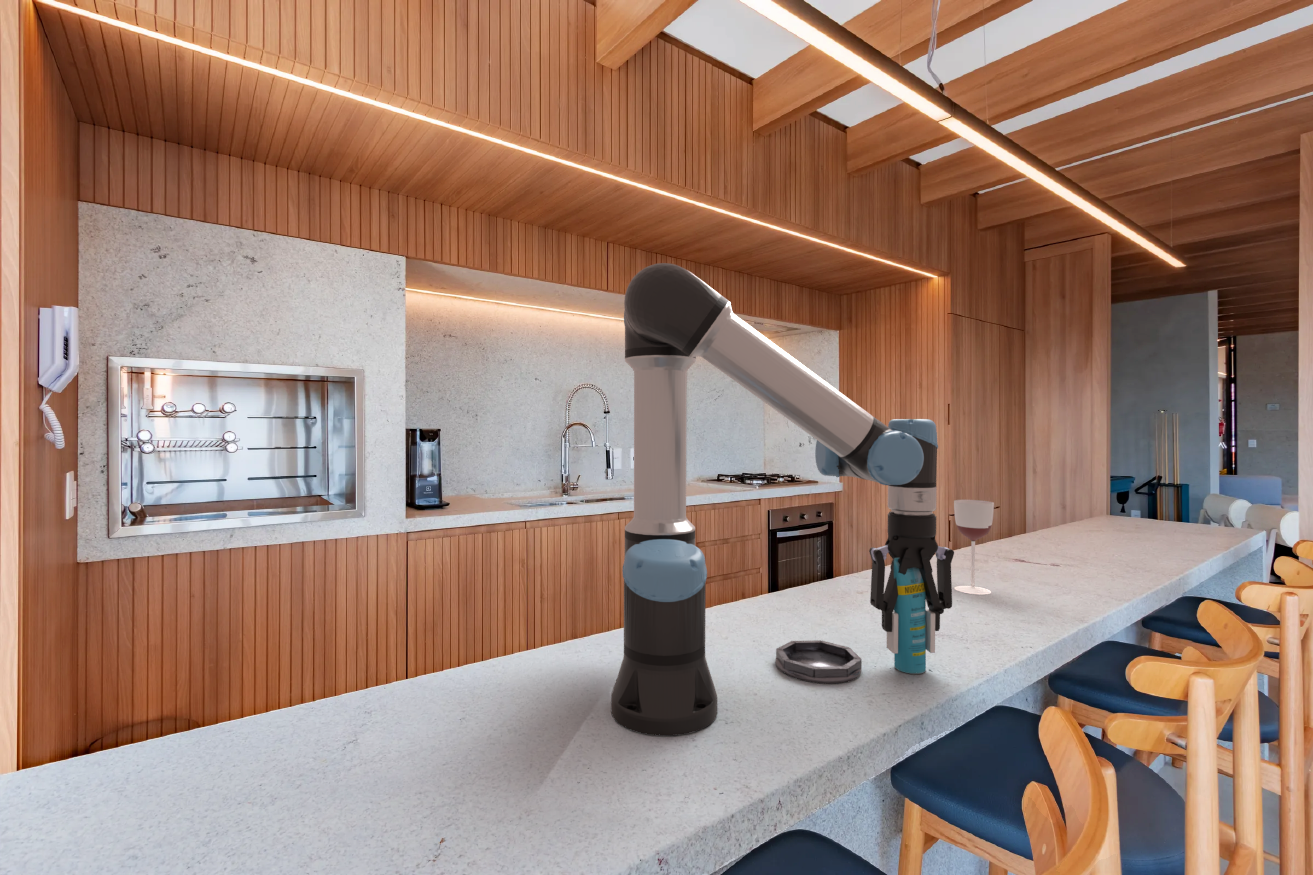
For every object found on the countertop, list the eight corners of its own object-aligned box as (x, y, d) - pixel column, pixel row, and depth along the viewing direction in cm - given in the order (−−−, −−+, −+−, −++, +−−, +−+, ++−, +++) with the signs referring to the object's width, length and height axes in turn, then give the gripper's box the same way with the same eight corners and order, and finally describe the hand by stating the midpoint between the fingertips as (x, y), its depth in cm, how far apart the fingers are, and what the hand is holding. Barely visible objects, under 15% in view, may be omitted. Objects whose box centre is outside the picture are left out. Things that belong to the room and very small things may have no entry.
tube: (909, 678, 100) (908, 560, 100) (884, 669, 104) (882, 555, 104) (936, 668, 104) (935, 554, 104) (910, 659, 108) (909, 549, 108)
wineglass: (960, 594, 151) (961, 503, 150) (948, 584, 160) (949, 499, 160) (998, 595, 149) (1000, 504, 149) (984, 585, 159) (985, 500, 158)
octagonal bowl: (787, 684, 98) (788, 670, 98) (767, 652, 112) (767, 640, 112) (875, 683, 99) (875, 669, 98) (843, 651, 112) (844, 638, 112)
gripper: (865, 515, 99) (864, 659, 100) (978, 514, 100) (977, 657, 101) (848, 508, 107) (847, 643, 107) (954, 508, 108) (952, 641, 108)
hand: (910, 649), depth 104 cm, fingers closed on tube, 5 cm apart
